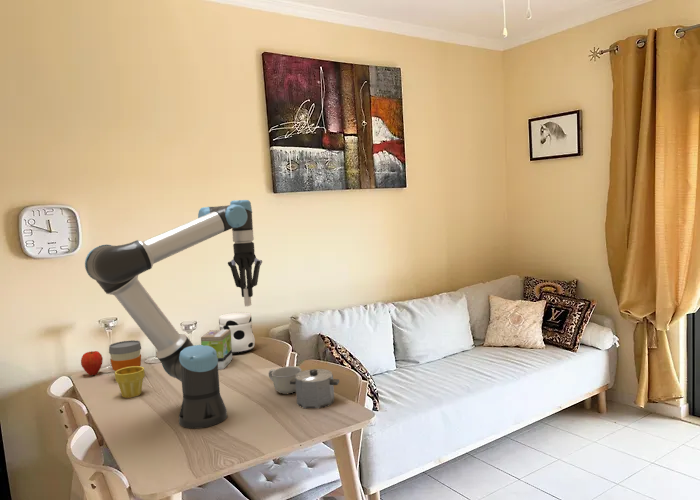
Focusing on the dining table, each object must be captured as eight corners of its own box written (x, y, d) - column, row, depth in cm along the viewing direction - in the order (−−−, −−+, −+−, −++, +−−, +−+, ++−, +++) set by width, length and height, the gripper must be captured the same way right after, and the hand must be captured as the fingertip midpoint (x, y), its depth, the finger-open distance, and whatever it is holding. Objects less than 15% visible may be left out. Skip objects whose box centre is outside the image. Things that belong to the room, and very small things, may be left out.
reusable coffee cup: (108, 379, 229) (105, 344, 228) (138, 372, 236) (136, 338, 235) (115, 385, 219) (112, 349, 218) (147, 378, 226) (144, 343, 225)
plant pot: (135, 400, 199) (133, 374, 199) (111, 399, 202) (108, 374, 201) (151, 390, 210) (149, 366, 209) (127, 390, 212) (125, 365, 211)
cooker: (334, 409, 178) (333, 382, 178) (286, 408, 182) (285, 381, 181) (344, 395, 191) (342, 370, 191) (299, 394, 195) (297, 369, 194)
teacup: (308, 390, 199) (307, 369, 199) (286, 398, 192) (284, 376, 191) (284, 383, 209) (283, 363, 208) (262, 391, 201) (260, 370, 201)
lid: (326, 383, 178) (326, 376, 178) (290, 382, 181) (290, 376, 180) (336, 371, 190) (335, 365, 190) (302, 370, 193) (301, 364, 193)
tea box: (225, 369, 233) (222, 335, 232) (202, 370, 234) (199, 337, 232) (233, 359, 248) (230, 328, 247) (211, 361, 249) (209, 329, 247)
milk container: (261, 346, 270) (258, 311, 269) (246, 356, 253) (243, 318, 252) (229, 346, 274) (226, 311, 273) (213, 356, 257) (210, 318, 256)
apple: (84, 379, 230) (82, 354, 229) (80, 375, 236) (77, 351, 236) (106, 375, 235) (103, 350, 234) (101, 371, 242) (98, 347, 241)
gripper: (263, 240, 200) (268, 303, 202) (231, 242, 203) (236, 304, 205) (256, 242, 193) (260, 307, 195) (222, 243, 196) (227, 307, 197)
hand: (248, 305), depth 200 cm, fingers closed
